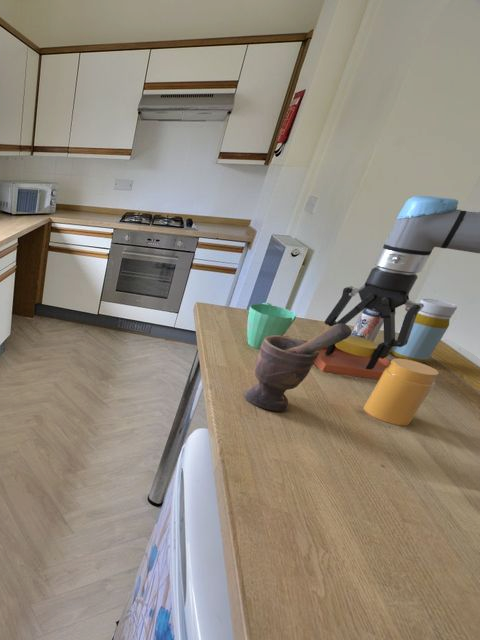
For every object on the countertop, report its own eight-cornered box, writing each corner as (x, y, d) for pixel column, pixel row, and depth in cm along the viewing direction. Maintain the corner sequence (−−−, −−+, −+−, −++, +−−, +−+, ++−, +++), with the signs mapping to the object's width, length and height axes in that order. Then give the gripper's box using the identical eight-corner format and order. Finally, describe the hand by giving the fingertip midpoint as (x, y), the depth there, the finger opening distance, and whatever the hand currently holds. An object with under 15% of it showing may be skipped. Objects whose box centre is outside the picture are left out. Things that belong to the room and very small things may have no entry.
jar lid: (328, 346, 100) (333, 337, 99) (342, 340, 104) (346, 332, 103) (367, 359, 94) (372, 350, 93) (379, 353, 98) (384, 344, 97)
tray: (371, 356, 105) (375, 349, 104) (409, 384, 93) (414, 376, 92) (295, 346, 109) (298, 339, 108) (322, 371, 96) (325, 364, 95)
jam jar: (395, 408, 83) (423, 361, 78) (418, 428, 77) (451, 378, 72) (356, 402, 84) (381, 355, 80) (376, 421, 78) (405, 371, 74)
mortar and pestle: (315, 412, 80) (362, 318, 72) (302, 428, 75) (352, 330, 66) (250, 386, 88) (285, 299, 79) (234, 400, 83) (271, 308, 74)
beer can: (341, 341, 113) (362, 300, 108) (357, 341, 113) (377, 301, 108) (358, 349, 108) (380, 307, 103) (374, 349, 109) (396, 307, 104)
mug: (284, 357, 102) (300, 321, 97) (239, 348, 106) (252, 312, 101) (274, 336, 114) (288, 303, 109) (234, 329, 118) (246, 296, 113)
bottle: (389, 357, 105) (419, 302, 99) (389, 348, 110) (418, 296, 103) (427, 366, 101) (461, 310, 95) (425, 357, 106) (458, 303, 99)
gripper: (333, 260, 96) (294, 346, 106) (455, 285, 81) (397, 384, 91) (347, 257, 100) (308, 341, 110) (466, 281, 84) (409, 376, 94)
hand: (348, 360), depth 100 cm, fingers open, 7 cm apart
